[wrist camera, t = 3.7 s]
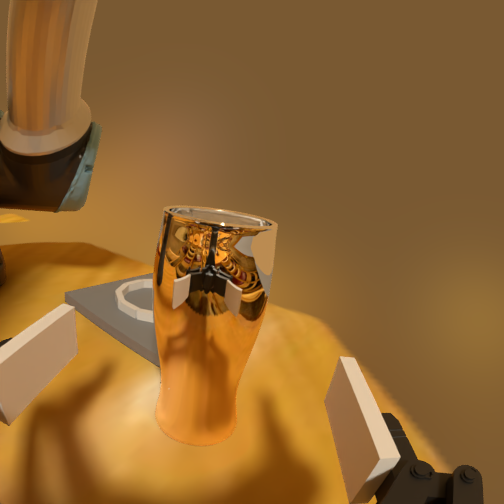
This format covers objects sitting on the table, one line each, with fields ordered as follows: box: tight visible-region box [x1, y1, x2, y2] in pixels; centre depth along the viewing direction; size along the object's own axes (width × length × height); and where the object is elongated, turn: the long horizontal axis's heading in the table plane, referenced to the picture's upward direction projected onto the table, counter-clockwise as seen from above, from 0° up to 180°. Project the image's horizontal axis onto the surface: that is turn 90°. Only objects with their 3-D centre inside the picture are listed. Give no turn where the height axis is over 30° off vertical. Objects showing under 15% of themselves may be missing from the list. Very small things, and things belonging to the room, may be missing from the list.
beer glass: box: [152, 206, 278, 446], centre depth 20 cm, size 7×7×15 cm
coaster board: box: [65, 273, 160, 367], centre depth 38 cm, size 18×18×2 cm
